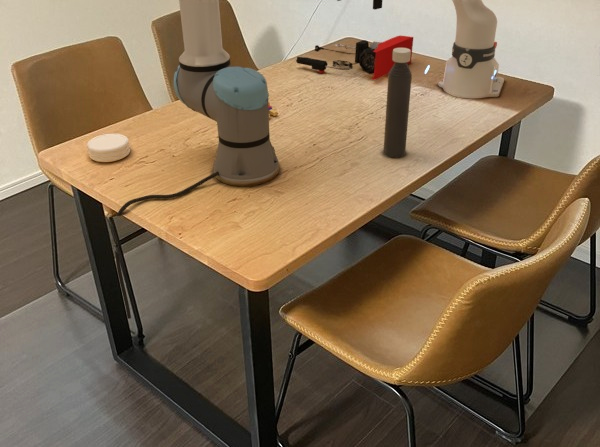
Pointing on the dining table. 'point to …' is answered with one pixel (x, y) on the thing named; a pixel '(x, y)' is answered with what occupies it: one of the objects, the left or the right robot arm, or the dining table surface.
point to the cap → (401, 55)
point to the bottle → (397, 110)
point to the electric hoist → (366, 56)
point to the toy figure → (271, 111)
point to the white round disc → (108, 147)
